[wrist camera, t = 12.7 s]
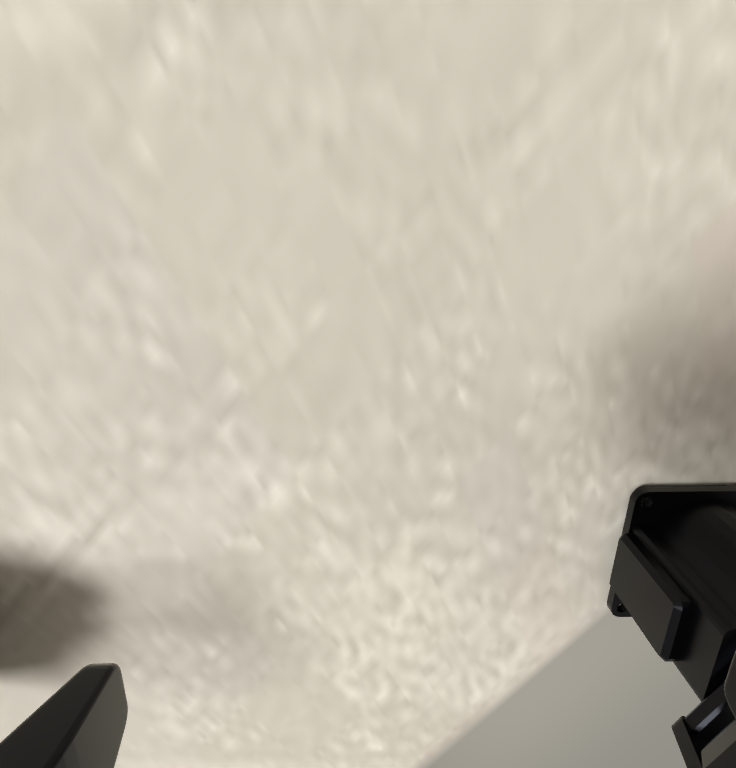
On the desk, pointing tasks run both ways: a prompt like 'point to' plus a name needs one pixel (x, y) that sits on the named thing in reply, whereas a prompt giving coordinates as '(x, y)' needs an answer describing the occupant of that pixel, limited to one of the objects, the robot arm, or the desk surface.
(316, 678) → the desk surface
